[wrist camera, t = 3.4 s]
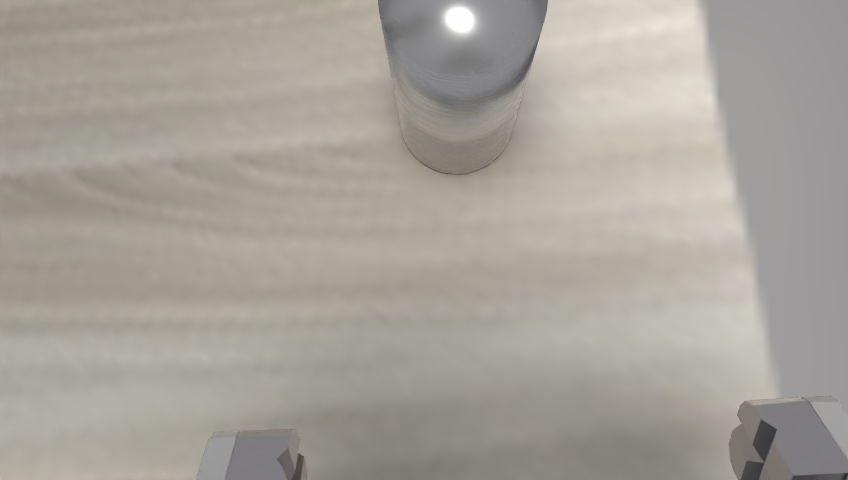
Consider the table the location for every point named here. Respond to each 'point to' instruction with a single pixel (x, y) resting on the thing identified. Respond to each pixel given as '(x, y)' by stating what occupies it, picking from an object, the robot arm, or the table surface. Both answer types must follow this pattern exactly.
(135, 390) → the table surface
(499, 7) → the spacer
